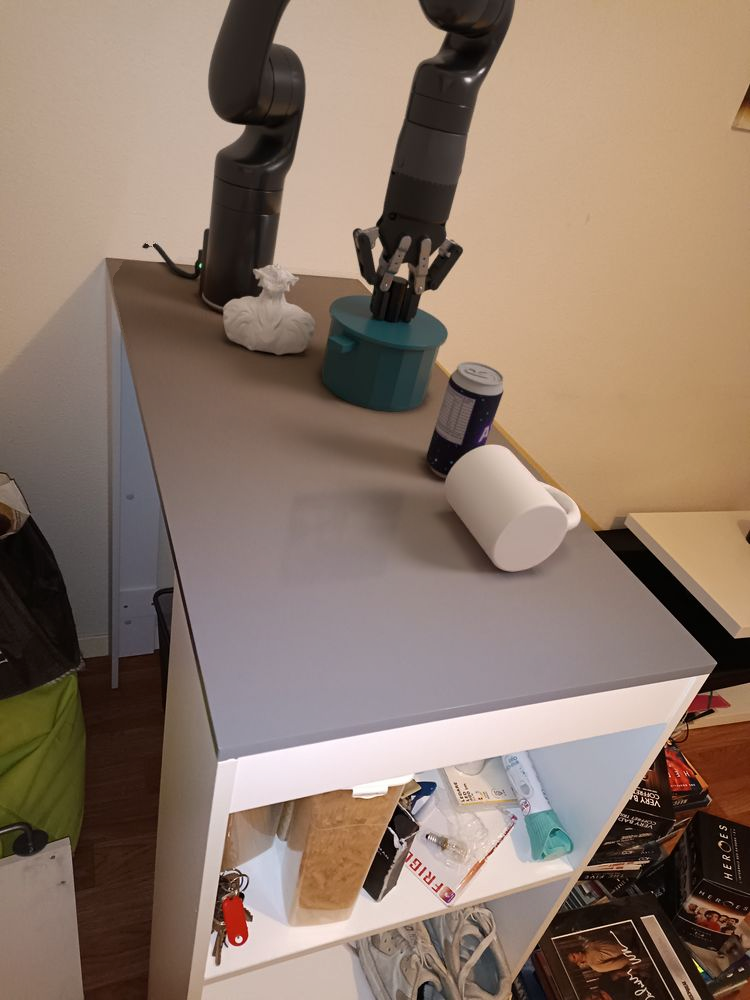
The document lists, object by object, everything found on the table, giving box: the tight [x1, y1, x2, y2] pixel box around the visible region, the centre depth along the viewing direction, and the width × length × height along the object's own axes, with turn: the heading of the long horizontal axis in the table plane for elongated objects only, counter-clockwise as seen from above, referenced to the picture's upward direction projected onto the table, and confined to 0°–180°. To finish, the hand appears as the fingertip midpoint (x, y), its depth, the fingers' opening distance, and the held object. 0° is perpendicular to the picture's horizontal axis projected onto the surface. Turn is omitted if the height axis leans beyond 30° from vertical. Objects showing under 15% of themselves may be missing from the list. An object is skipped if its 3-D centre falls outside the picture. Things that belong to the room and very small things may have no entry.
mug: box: [443, 444, 582, 573], centre depth 71 cm, size 12×10×8 cm
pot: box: [321, 318, 441, 412], centre depth 93 cm, size 14×19×8 cm
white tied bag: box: [222, 263, 316, 356], centre depth 96 cm, size 12×8×11 cm
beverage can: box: [425, 361, 504, 480], centre depth 78 cm, size 6×6×12 cm
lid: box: [328, 275, 449, 350], centre depth 89 cm, size 15×15×6 cm
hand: (390, 318), depth 90 cm, fingers open, 3 cm apart
